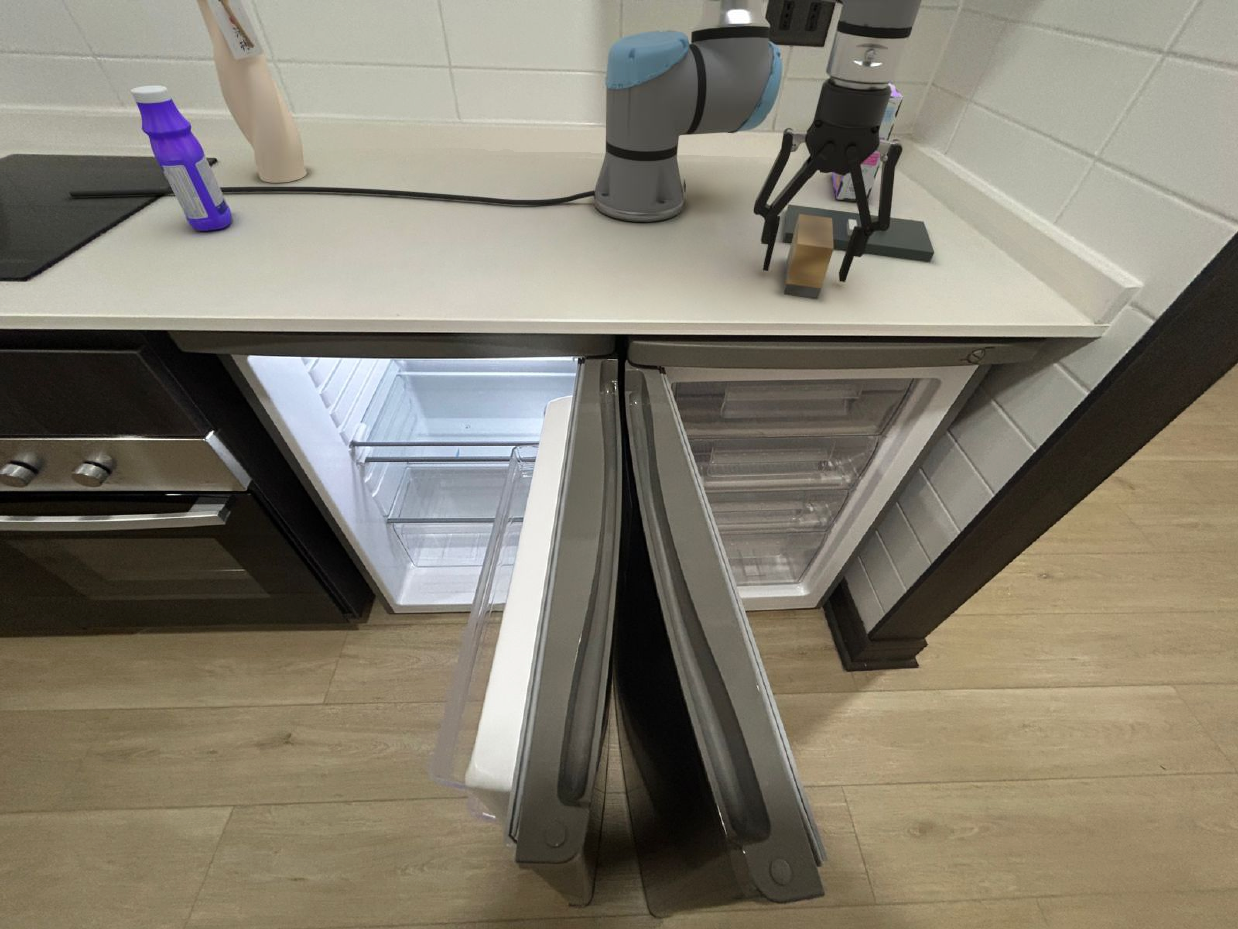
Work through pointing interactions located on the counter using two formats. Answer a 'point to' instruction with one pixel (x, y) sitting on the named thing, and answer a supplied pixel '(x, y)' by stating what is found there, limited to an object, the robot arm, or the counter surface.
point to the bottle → (182, 159)
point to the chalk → (850, 226)
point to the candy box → (872, 163)
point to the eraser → (809, 256)
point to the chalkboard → (895, 242)
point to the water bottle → (253, 92)
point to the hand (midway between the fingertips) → (803, 271)
